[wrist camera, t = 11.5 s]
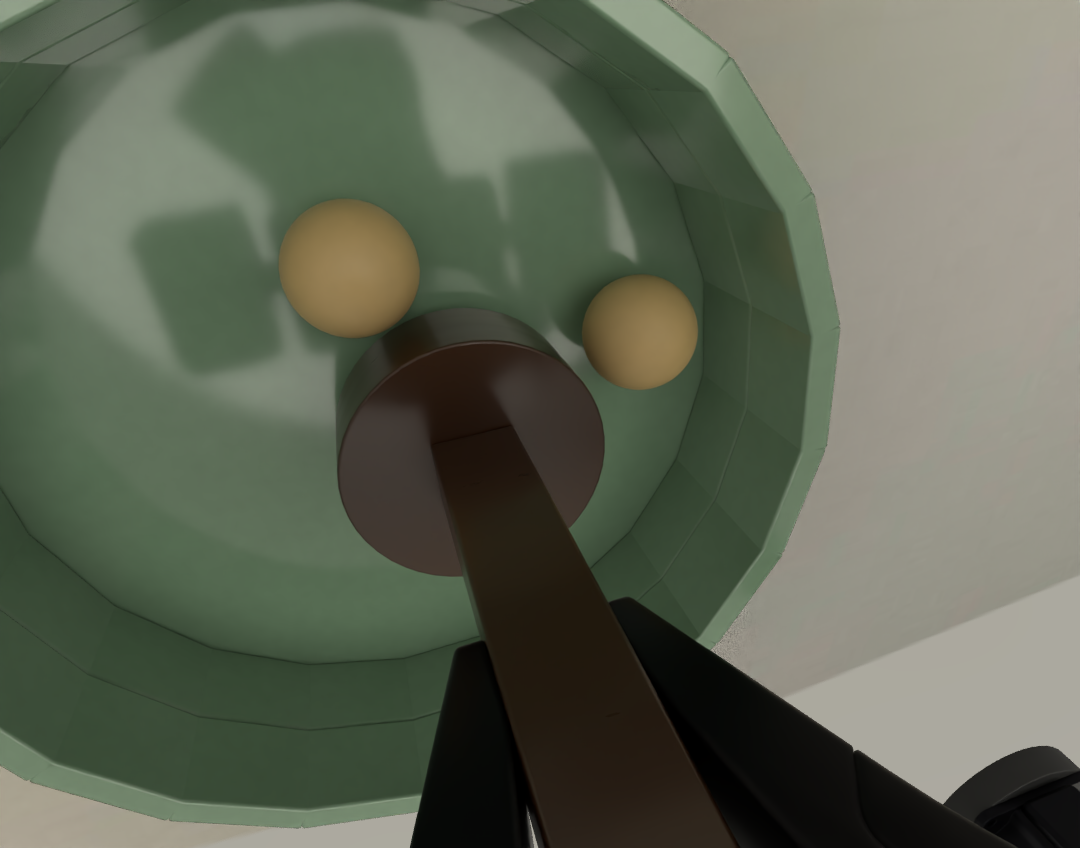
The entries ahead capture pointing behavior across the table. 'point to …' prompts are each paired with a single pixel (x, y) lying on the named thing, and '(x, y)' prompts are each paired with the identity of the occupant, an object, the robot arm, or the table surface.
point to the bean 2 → (639, 332)
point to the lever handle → (520, 565)
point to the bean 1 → (349, 268)
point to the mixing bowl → (326, 361)
